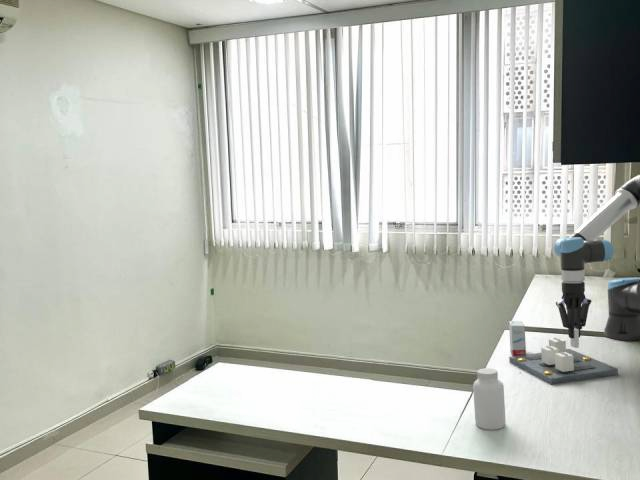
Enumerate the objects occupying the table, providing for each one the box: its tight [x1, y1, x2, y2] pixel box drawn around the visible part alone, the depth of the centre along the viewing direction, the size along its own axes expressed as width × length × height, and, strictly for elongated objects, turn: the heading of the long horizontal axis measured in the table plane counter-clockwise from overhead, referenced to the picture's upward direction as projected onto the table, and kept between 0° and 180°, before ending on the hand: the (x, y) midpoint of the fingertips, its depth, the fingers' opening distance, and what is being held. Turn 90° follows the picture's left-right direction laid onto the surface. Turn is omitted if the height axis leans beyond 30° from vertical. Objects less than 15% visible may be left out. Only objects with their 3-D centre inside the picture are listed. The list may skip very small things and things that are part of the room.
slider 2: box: [540, 345, 559, 365], centre depth 204 cm, size 4×4×5 cm
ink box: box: [508, 320, 527, 357], centre depth 224 cm, size 9×5×12 cm, turn 168°
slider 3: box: [555, 352, 574, 372], centre depth 196 cm, size 4×4×5 cm
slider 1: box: [548, 337, 567, 353], centre depth 213 cm, size 4×4×5 cm
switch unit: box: [508, 348, 619, 386], centre depth 205 cm, size 24×26×2 cm
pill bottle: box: [472, 367, 506, 431], centre depth 163 cm, size 8×8×15 cm
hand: (574, 346), depth 215 cm, fingers closed
